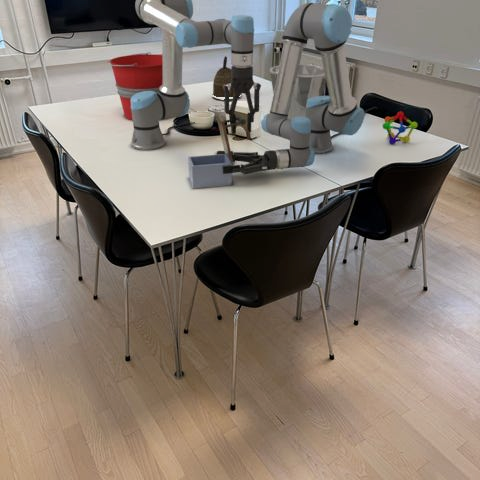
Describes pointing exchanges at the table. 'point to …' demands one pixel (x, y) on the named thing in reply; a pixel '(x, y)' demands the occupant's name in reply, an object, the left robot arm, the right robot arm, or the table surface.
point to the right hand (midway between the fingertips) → (220, 164)
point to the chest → (209, 171)
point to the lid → (224, 134)
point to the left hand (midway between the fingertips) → (241, 131)
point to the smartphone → (223, 152)
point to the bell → (222, 81)
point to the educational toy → (398, 128)
